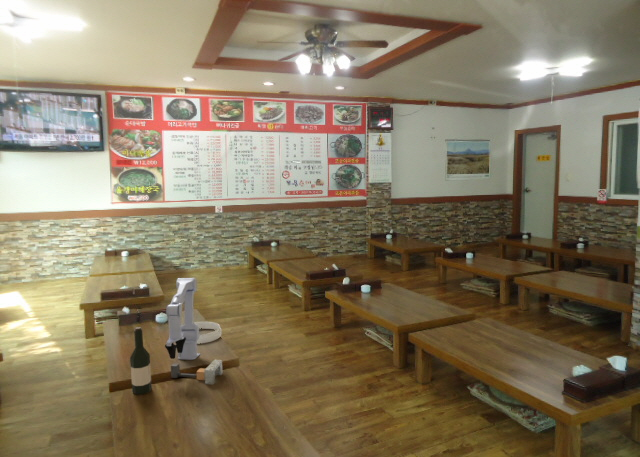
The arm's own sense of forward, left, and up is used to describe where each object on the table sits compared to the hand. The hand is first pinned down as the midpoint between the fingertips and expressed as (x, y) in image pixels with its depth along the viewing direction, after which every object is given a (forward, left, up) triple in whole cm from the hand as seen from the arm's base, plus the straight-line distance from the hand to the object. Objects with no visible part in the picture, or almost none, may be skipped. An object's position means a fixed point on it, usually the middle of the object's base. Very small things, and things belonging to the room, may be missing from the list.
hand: (176, 355), depth 221 cm
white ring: (-14, +56, -11) cm, 59 cm away
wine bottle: (-10, -16, -11) cm, 22 cm away
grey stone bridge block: (+19, 0, -11) cm, 22 cm away
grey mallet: (+7, 0, -11) cm, 13 cm away
